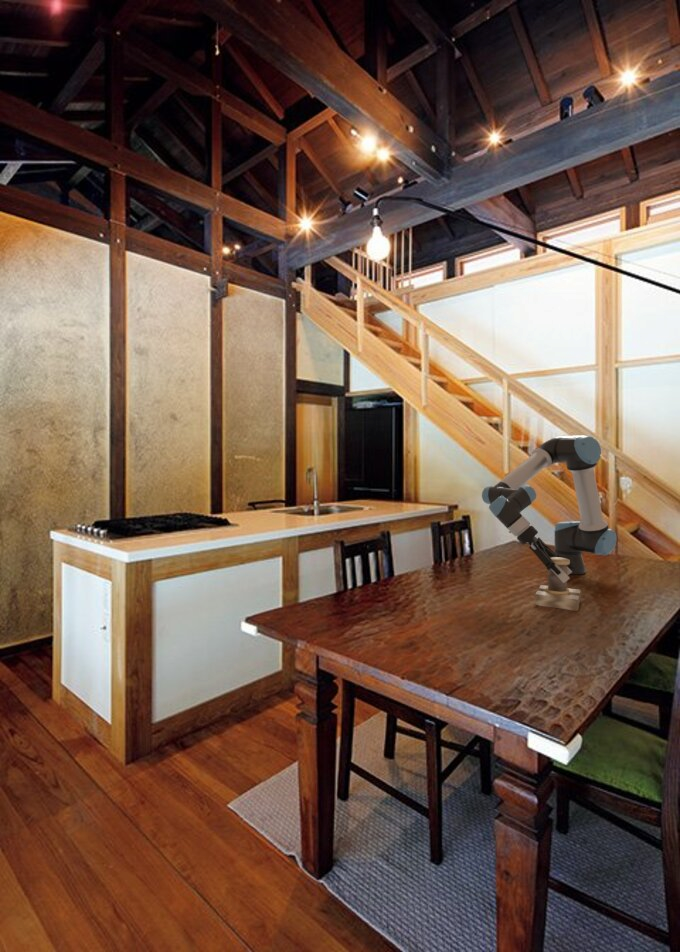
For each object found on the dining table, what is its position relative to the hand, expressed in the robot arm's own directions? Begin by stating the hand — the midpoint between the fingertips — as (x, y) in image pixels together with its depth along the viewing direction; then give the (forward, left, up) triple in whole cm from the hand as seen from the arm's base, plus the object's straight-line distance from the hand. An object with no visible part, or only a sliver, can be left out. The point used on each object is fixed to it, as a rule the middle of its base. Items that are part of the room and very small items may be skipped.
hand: (568, 577), depth 183 cm
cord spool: (-3, -2, -6) cm, 7 cm away
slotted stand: (-3, -2, -10) cm, 10 cm away
